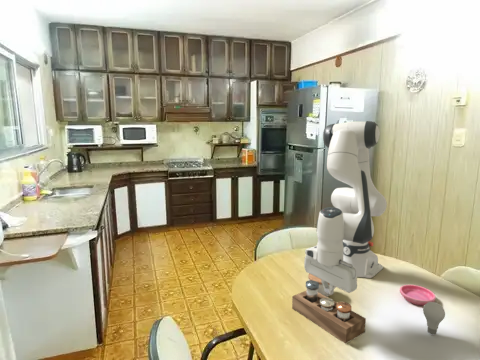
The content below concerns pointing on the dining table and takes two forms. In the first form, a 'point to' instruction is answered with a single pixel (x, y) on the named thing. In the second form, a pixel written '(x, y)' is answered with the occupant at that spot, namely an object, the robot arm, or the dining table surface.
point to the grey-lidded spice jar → (312, 290)
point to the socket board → (329, 318)
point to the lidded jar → (321, 288)
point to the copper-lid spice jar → (343, 311)
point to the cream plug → (326, 304)
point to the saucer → (417, 294)
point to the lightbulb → (433, 316)
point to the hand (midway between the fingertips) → (328, 292)
